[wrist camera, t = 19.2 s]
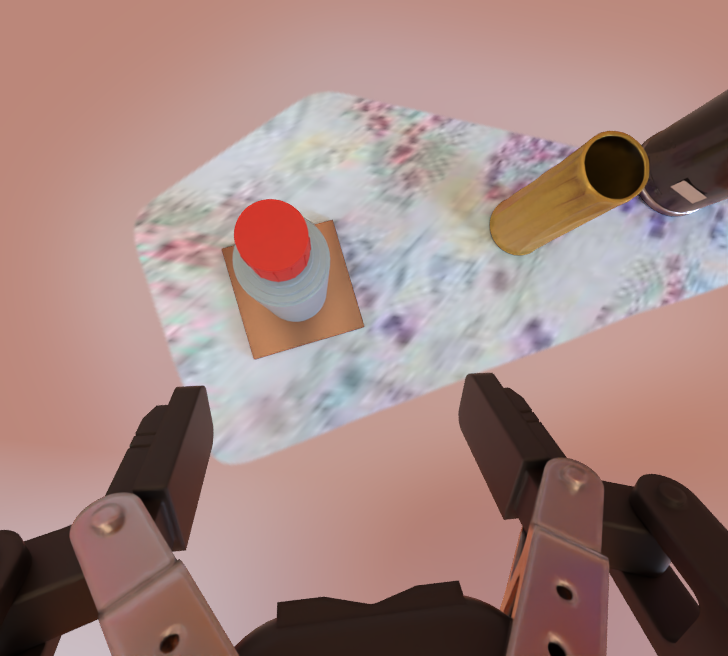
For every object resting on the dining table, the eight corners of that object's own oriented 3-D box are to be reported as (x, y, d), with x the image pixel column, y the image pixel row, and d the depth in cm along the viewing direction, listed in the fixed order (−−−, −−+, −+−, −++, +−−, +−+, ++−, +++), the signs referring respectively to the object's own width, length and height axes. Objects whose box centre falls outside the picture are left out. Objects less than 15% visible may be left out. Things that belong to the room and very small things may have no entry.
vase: (555, 222, 43) (671, 159, 29) (523, 267, 42) (626, 226, 28) (510, 186, 43) (605, 106, 28) (477, 232, 42) (558, 172, 28)
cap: (299, 212, 23) (296, 191, 20) (317, 272, 23) (317, 260, 20) (238, 228, 23) (225, 209, 20) (256, 289, 23) (245, 279, 20)
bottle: (316, 253, 39) (313, 166, 21) (334, 312, 39) (347, 278, 21) (256, 269, 39) (195, 194, 20) (273, 329, 39) (229, 311, 20)
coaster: (332, 221, 40) (332, 219, 40) (363, 327, 40) (364, 326, 40) (222, 249, 39) (221, 248, 39) (254, 359, 39) (253, 359, 38)
